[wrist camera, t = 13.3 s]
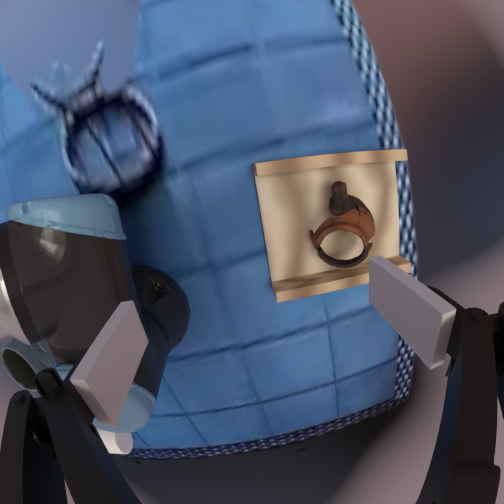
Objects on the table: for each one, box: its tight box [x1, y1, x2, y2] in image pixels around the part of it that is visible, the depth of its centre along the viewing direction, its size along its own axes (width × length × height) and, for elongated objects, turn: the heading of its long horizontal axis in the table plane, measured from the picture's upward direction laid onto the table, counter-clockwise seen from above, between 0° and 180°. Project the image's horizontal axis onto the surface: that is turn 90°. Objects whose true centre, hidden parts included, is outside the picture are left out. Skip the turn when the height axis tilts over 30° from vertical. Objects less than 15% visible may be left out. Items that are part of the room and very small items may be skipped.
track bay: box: [252, 149, 411, 303], centre depth 39 cm, size 22×19×5 cm
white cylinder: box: [96, 428, 133, 454], centre depth 48 cm, size 12×10×8 cm
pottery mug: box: [310, 181, 375, 268], centre depth 37 cm, size 12×10×8 cm
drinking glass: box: [0, 338, 56, 392], centre depth 38 cm, size 10×10×12 cm
